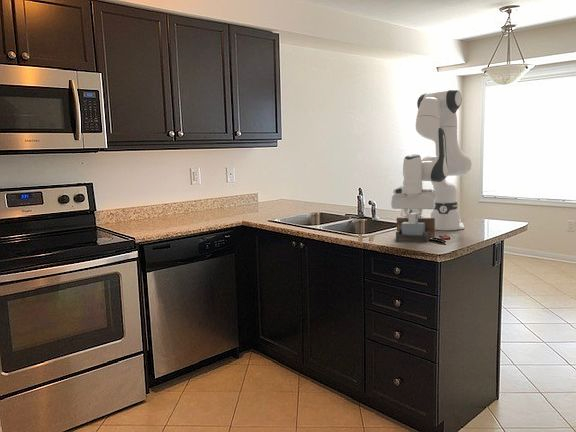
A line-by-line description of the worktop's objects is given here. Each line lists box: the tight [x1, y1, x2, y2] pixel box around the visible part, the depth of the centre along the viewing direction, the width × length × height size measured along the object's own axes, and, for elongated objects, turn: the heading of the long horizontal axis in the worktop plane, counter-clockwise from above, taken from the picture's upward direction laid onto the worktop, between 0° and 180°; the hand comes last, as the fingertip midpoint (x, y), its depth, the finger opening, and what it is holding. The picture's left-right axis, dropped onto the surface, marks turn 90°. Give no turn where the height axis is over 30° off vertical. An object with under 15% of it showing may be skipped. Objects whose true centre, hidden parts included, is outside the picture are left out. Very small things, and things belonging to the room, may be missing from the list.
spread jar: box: [399, 209, 423, 217], centre depth 292 cm, size 12×11×12 cm
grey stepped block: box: [402, 213, 425, 236], centre depth 223 cm, size 6×10×12 cm, turn 61°
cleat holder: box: [395, 216, 436, 243], centre depth 224 cm, size 10×18×10 cm, turn 62°
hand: (413, 218), depth 223 cm, fingers open, 3 cm apart
